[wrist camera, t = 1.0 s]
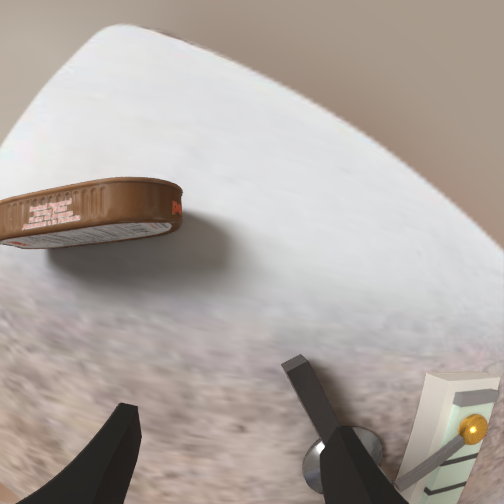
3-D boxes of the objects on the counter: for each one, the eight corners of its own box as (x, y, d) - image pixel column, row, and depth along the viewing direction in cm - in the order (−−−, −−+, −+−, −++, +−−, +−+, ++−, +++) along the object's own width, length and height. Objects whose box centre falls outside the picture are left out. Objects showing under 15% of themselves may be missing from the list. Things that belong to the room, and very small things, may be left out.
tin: (190, 201, 24) (169, 158, 16) (192, 241, 24) (170, 214, 16) (31, 223, 24) (-28, 199, 15) (30, 258, 23) (-32, 243, 15)
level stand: (427, 516, 21) (447, 535, 17) (374, 527, 21) (391, 552, 16) (477, 371, 24) (508, 378, 19) (426, 373, 24) (457, 384, 19)
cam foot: (450, 420, 23) (496, 443, 16) (320, 503, 21) (342, 550, 14) (404, 289, 24) (456, 286, 17) (246, 378, 22) (251, 411, 15)
